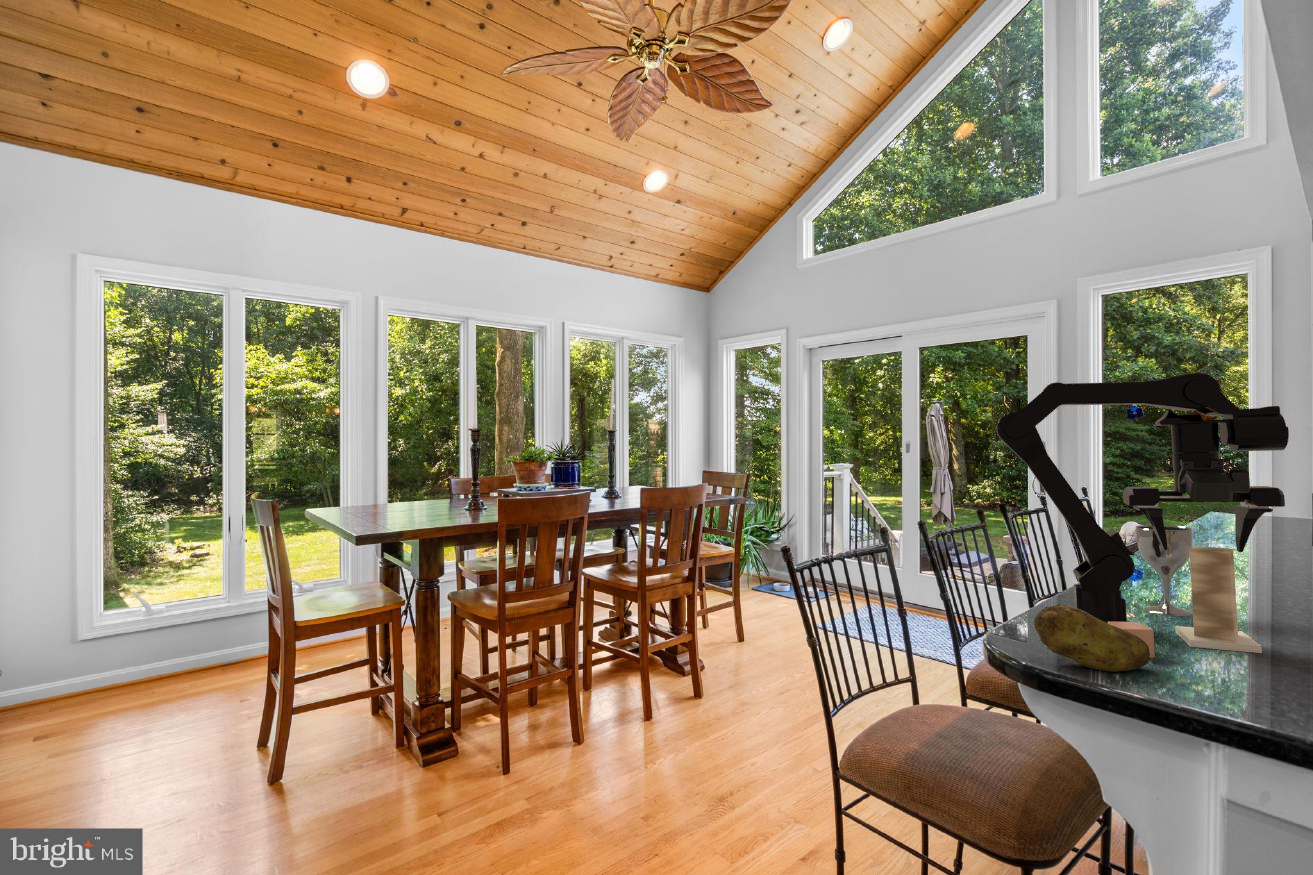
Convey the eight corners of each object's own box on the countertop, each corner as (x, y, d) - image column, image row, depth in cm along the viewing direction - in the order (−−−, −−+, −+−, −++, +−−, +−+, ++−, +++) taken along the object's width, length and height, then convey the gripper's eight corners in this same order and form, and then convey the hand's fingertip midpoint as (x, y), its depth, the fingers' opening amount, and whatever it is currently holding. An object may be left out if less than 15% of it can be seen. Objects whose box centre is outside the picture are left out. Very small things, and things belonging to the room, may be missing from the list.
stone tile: (1189, 646, 92) (1189, 639, 92) (1175, 632, 100) (1175, 625, 100) (1261, 653, 89) (1261, 646, 89) (1241, 637, 96) (1241, 631, 96)
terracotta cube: (1122, 656, 89) (1121, 628, 90) (1109, 648, 93) (1107, 621, 93) (1154, 657, 89) (1153, 629, 89) (1139, 649, 92) (1138, 622, 93)
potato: (1149, 685, 79) (1146, 621, 79) (1032, 665, 87) (1029, 608, 87) (1151, 666, 85) (1148, 607, 85) (1041, 650, 93) (1039, 596, 93)
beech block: (1194, 635, 94) (1189, 549, 95) (1199, 629, 97) (1194, 546, 98) (1234, 641, 91) (1229, 552, 91) (1238, 635, 94) (1233, 548, 94)
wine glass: (1209, 616, 108) (1204, 529, 108) (1163, 617, 108) (1158, 530, 108) (1172, 605, 116) (1167, 524, 116) (1129, 606, 116) (1124, 525, 116)
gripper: (1133, 455, 97) (1139, 556, 96) (1297, 451, 88) (1304, 562, 87) (1120, 454, 106) (1125, 545, 106) (1266, 450, 98) (1273, 550, 97)
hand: (1201, 550), depth 99 cm, fingers open, 9 cm apart
